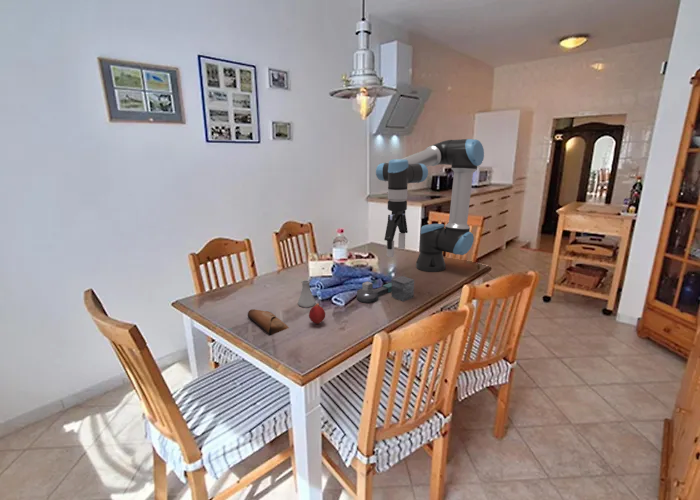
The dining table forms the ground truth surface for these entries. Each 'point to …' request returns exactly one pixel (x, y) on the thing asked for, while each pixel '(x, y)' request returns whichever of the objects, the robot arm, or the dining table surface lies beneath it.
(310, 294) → the flask
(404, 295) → the rounded charcoal cube
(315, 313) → the onion
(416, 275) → the dining table surface
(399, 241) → the robot arm
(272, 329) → the sunglasses case
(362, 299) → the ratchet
